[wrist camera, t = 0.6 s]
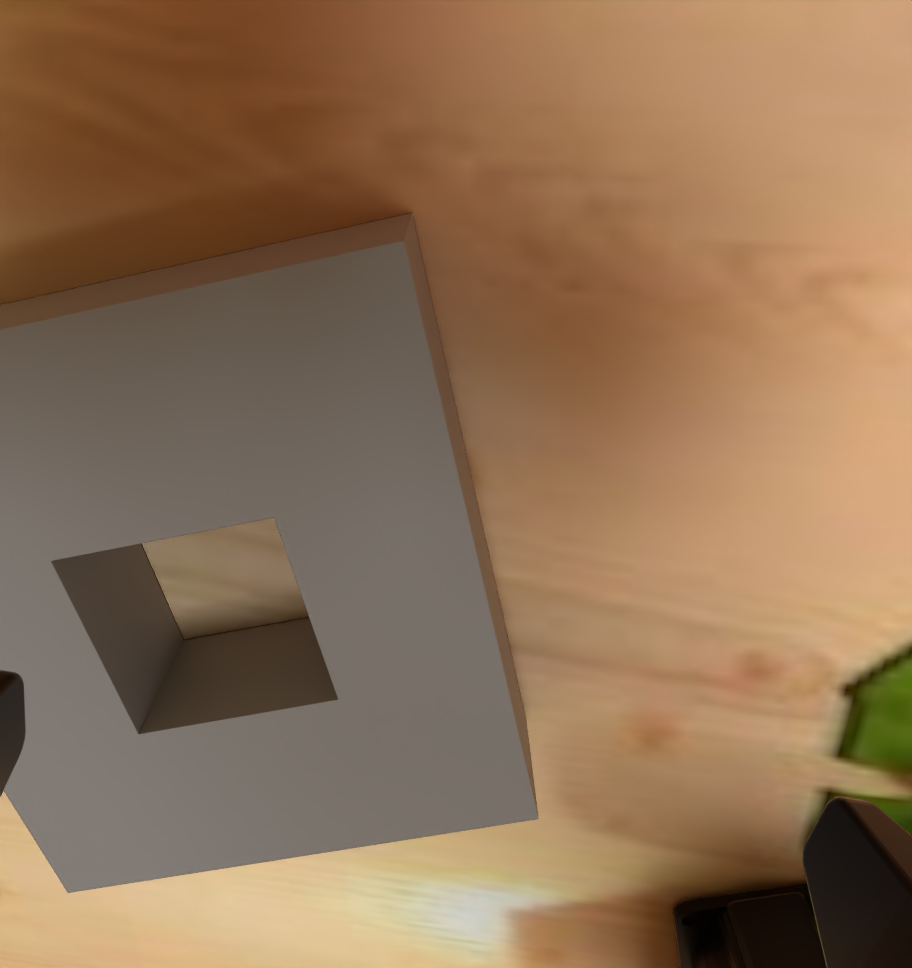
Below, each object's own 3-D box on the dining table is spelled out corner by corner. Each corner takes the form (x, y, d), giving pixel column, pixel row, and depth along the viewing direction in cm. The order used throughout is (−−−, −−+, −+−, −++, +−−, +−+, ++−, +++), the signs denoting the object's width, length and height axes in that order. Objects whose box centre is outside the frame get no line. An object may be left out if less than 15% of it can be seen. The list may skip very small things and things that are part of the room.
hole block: (526, 718, 26) (538, 818, 22) (118, 787, 27) (68, 892, 24) (411, 212, 19) (403, 240, 16) (-127, 333, 20) (-251, 385, 17)
